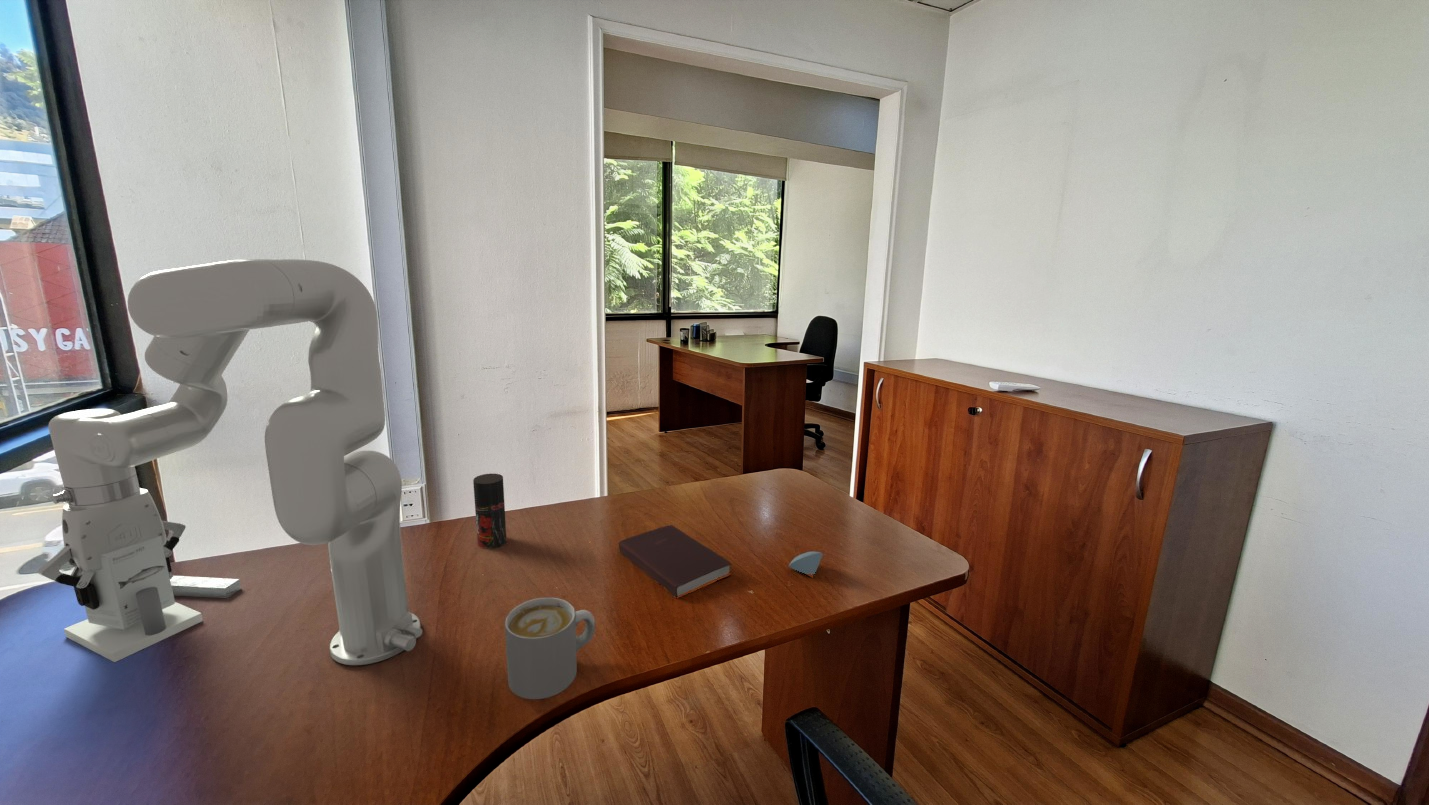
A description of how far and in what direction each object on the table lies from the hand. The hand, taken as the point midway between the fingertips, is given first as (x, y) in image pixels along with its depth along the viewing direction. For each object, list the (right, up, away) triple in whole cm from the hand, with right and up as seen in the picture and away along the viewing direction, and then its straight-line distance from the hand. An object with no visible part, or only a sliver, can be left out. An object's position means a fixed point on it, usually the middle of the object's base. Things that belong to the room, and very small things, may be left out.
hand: (128, 591), depth 89 cm
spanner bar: (-2, -4, +12) cm, 13 cm away
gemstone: (+113, -5, +27) cm, 116 cm away
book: (+85, -4, +28) cm, 90 cm away
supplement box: (0, -4, +1) cm, 4 cm away
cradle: (0, -7, +2) cm, 7 cm away
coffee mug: (+69, -11, -4) cm, 70 cm away
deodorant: (+45, -1, +34) cm, 56 cm away
